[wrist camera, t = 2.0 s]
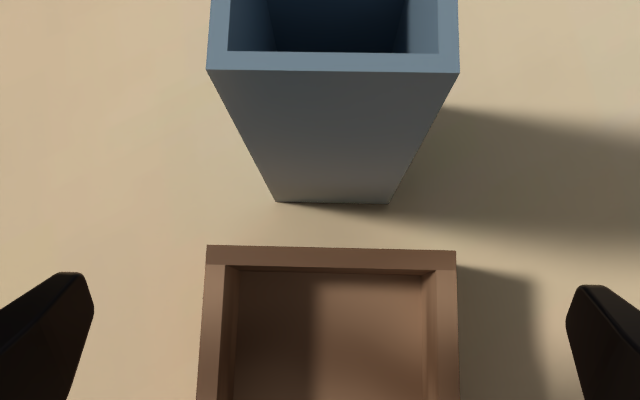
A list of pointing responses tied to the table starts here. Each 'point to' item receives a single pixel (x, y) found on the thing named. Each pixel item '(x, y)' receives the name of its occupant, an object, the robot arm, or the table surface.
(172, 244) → the table surface
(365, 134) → the tall slate-blue crate
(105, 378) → the table surface
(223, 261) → the walnut crate
